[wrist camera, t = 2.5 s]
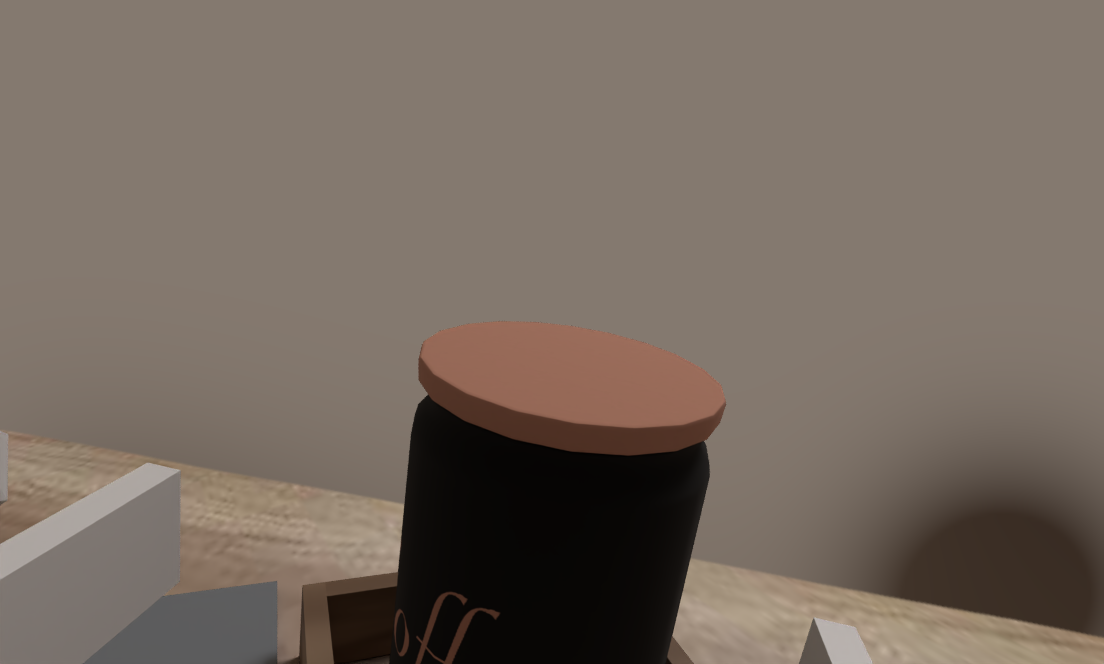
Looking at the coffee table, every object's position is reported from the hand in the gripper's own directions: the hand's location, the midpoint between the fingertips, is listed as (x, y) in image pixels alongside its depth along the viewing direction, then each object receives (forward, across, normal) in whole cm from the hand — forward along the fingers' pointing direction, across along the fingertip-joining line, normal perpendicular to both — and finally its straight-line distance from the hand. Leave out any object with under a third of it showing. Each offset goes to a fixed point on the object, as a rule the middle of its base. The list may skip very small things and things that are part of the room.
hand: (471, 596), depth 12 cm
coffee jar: (+10, +1, -16) cm, 19 cm away
